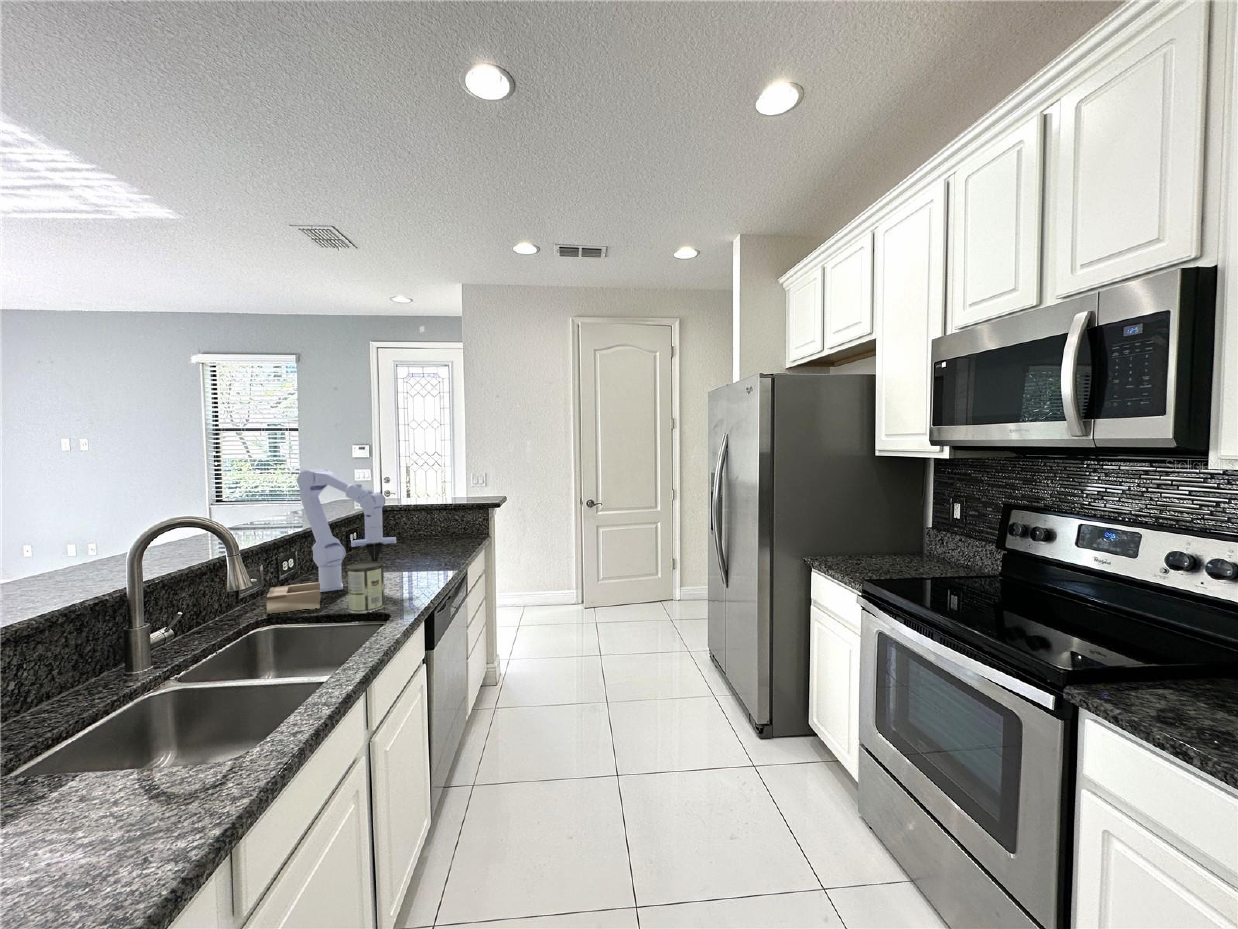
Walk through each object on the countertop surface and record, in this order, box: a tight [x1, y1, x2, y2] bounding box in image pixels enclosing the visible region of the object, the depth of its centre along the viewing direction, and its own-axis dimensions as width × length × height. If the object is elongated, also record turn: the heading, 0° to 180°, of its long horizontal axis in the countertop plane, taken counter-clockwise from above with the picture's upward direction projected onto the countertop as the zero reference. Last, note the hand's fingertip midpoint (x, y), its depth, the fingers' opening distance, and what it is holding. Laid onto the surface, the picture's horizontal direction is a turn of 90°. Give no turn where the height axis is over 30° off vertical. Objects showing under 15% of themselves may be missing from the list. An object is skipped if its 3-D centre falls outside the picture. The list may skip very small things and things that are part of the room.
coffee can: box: [346, 560, 385, 614], centre depth 165 cm, size 10×10×14 cm
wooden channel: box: [266, 581, 321, 614], centre depth 168 cm, size 13×14×6 cm
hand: (374, 564), depth 186 cm, fingers closed
